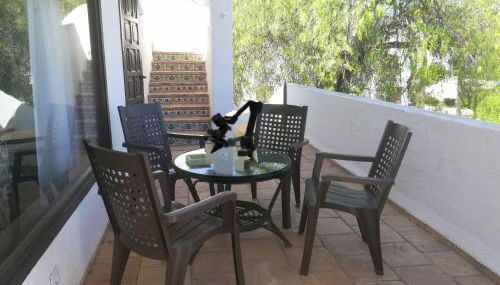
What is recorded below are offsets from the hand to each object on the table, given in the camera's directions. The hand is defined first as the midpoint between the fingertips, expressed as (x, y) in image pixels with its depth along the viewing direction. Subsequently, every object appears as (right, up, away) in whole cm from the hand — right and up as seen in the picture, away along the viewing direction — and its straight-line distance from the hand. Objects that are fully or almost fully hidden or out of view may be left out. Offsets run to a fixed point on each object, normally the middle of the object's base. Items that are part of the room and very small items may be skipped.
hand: (208, 152), depth 230 cm
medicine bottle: (+20, -10, +2) cm, 23 cm away
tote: (-8, -7, +15) cm, 19 cm away
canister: (+1, -6, +2) cm, 7 cm away
